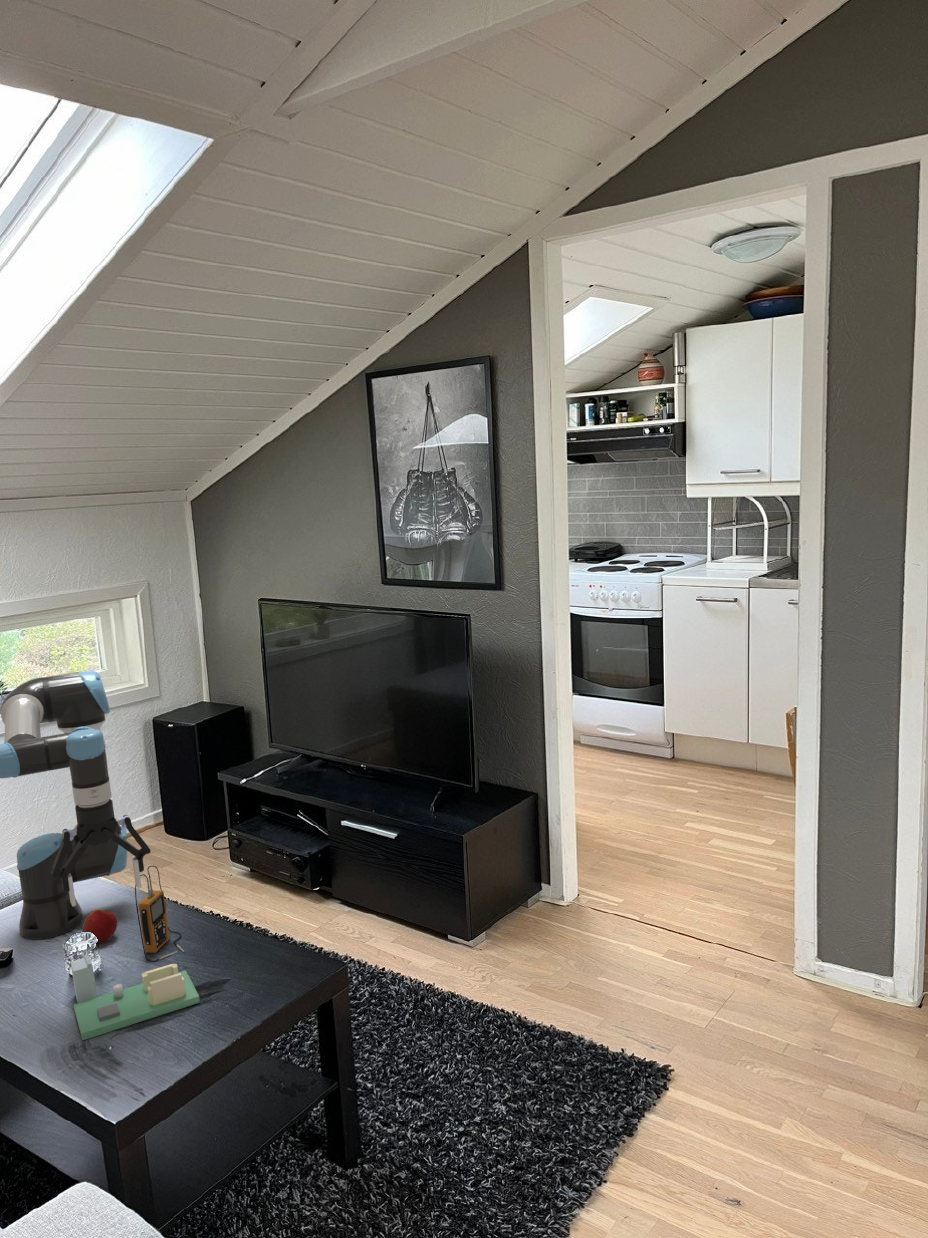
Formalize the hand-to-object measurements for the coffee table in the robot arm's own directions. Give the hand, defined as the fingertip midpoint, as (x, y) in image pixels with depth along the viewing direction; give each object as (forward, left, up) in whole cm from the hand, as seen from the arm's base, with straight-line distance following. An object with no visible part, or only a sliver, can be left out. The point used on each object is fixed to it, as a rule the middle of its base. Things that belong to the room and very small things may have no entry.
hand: (106, 895), depth 208 cm
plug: (-4, -7, -24) cm, 25 cm away
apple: (-30, 0, -24) cm, 38 cm away
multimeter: (-16, +14, -24) cm, 32 cm away
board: (+7, +2, -24) cm, 25 cm away
